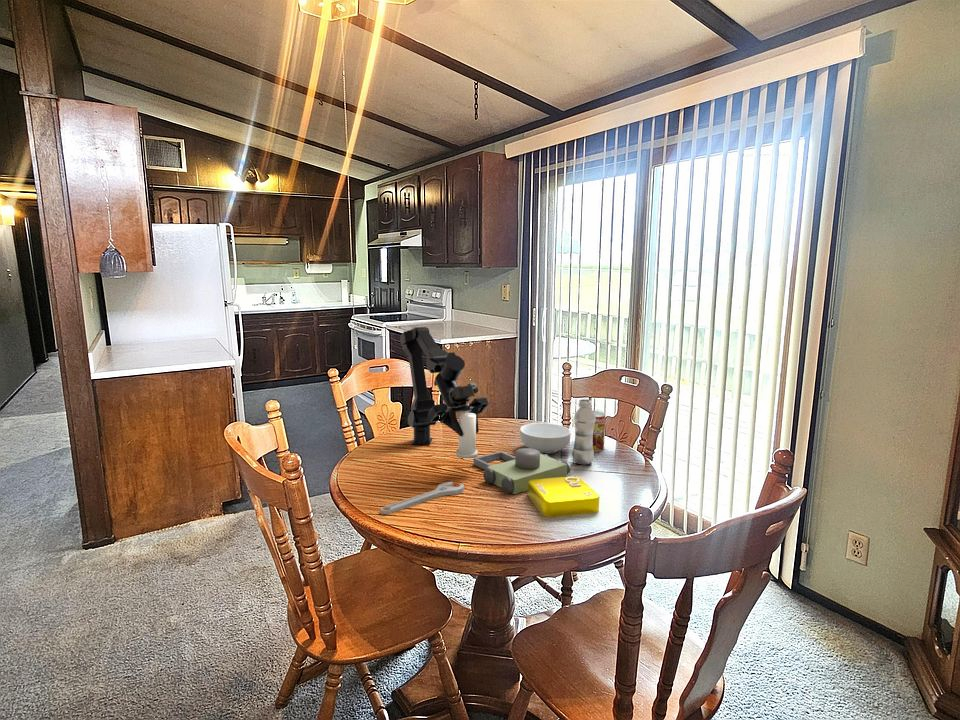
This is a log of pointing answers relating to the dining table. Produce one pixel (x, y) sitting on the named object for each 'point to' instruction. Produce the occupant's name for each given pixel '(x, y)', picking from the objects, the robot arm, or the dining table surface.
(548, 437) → the cereal bowl
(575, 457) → the plastic bottle
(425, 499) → the adjustable wrench
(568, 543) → the dining table surface
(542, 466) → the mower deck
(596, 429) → the canned food
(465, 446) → the white cylindrical piece
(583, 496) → the element tile
